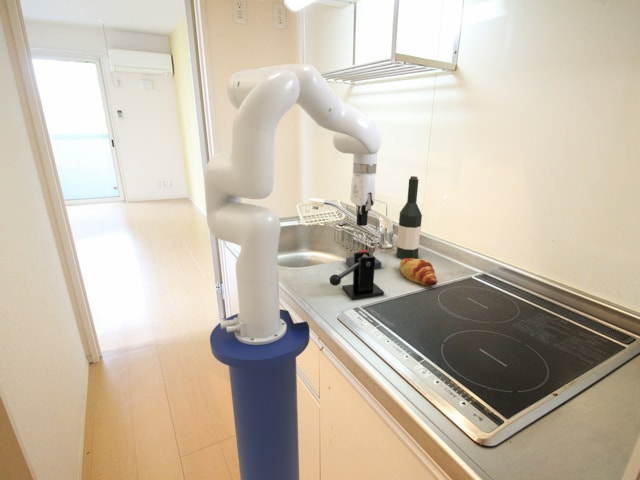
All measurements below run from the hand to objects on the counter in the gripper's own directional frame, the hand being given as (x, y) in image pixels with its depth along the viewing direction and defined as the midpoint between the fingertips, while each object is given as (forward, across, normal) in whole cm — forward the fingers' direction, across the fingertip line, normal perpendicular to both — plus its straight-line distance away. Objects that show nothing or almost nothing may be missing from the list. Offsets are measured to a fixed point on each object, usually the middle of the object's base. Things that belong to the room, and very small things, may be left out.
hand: (361, 225), depth 122 cm
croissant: (+15, +15, +14) cm, 26 cm away
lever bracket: (+15, +20, -8) cm, 26 cm away
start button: (+11, 0, +1) cm, 11 cm away
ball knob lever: (+9, +20, -11) cm, 25 cm away
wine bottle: (+15, -4, +21) cm, 26 cm away
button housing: (+15, 0, +1) cm, 15 cm away
